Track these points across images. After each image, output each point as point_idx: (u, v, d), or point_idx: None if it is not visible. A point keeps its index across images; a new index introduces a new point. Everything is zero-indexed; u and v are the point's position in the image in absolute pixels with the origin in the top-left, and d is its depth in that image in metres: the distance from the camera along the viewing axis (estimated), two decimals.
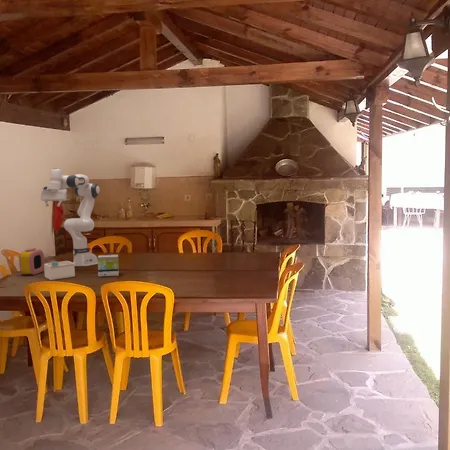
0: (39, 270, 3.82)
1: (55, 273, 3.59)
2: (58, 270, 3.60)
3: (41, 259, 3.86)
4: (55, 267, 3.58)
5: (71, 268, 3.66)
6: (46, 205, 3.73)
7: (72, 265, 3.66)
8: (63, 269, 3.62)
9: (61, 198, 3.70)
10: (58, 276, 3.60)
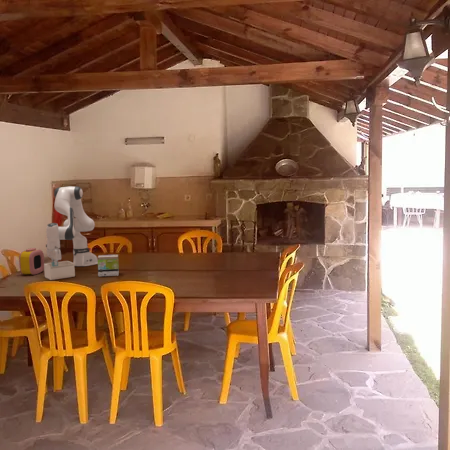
0: (39, 270, 3.82)
1: (55, 273, 3.59)
2: (58, 270, 3.60)
3: (41, 259, 3.86)
4: (55, 267, 3.58)
5: (71, 268, 3.66)
6: None
7: (72, 265, 3.66)
8: (63, 269, 3.62)
9: (55, 258, 3.51)
10: (58, 276, 3.60)
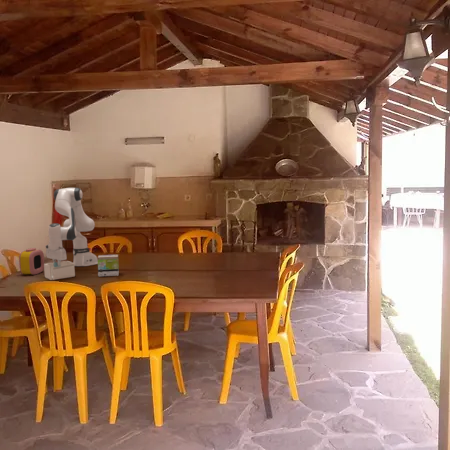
0: (39, 270, 3.82)
1: (57, 274, 3.56)
2: (60, 270, 3.58)
3: (41, 259, 3.86)
4: (57, 268, 3.56)
5: (71, 268, 3.65)
6: None
7: (73, 265, 3.66)
8: (64, 269, 3.61)
9: (60, 259, 3.49)
10: (60, 277, 3.58)
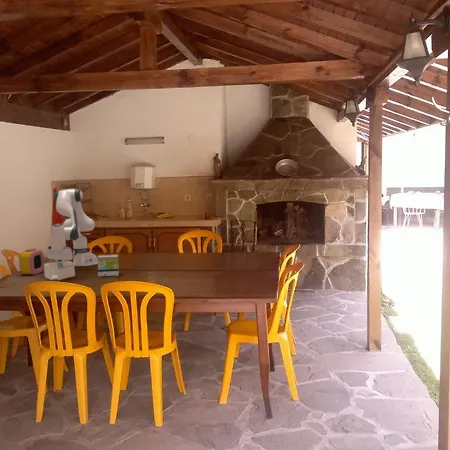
0: (39, 270, 3.82)
1: (61, 274, 3.55)
2: (63, 271, 3.56)
3: (41, 259, 3.86)
4: (61, 268, 3.54)
5: (72, 268, 3.65)
6: None
7: (73, 265, 3.66)
8: (67, 270, 3.60)
9: (67, 259, 3.49)
10: (63, 277, 3.57)
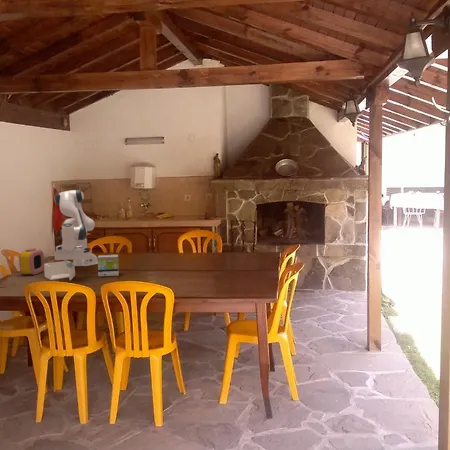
0: (39, 270, 3.82)
1: (71, 274, 3.54)
2: (71, 271, 3.56)
3: (41, 259, 3.86)
4: (71, 268, 3.53)
5: (74, 268, 3.65)
6: (67, 265, 3.52)
7: (74, 265, 3.66)
8: (72, 270, 3.59)
9: (80, 257, 3.52)
10: (72, 277, 3.56)
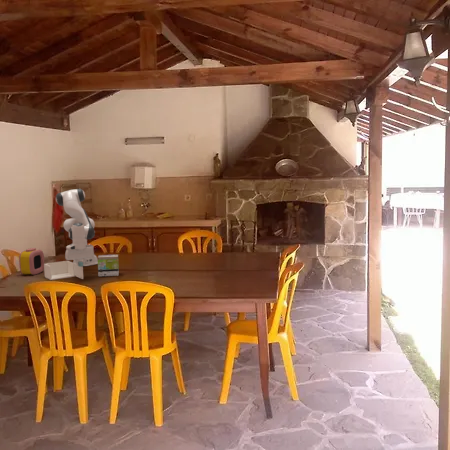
0: (39, 270, 3.82)
1: None
2: None
3: (41, 259, 3.86)
4: None
5: None
6: (78, 264, 3.54)
7: None
8: None
9: (91, 256, 3.58)
10: None
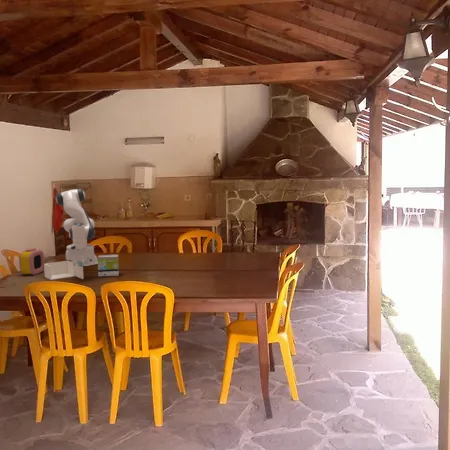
0: (39, 270, 3.82)
1: None
2: None
3: (41, 259, 3.86)
4: None
5: None
6: (74, 265, 3.52)
7: None
8: None
9: (91, 256, 3.58)
10: None
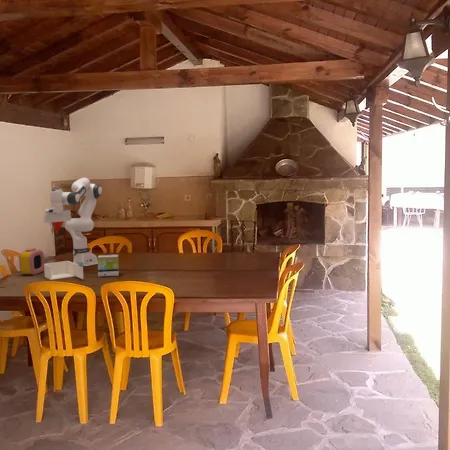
0: (39, 270, 3.82)
1: None
2: None
3: (41, 259, 3.86)
4: None
5: None
6: (52, 227, 3.77)
7: None
8: None
9: (68, 219, 3.83)
10: None
